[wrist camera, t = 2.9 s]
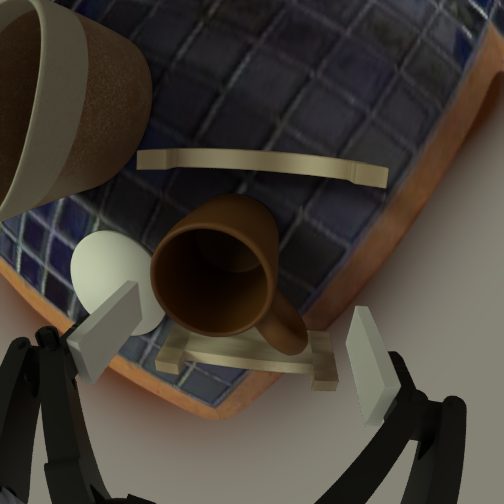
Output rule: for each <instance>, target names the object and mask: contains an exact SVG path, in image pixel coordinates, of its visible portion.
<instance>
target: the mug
mask: <svg viewBox="0 0 504 504" xmlns="http://www.w3.org/2000/svg"><path fill="white" fill-rule="evenodd" d="M278 265H279V234H278V229H277V225H276V222H275V220H274V218H273V216H272V215H271V213H270V212H269V211H268V210H267V209H266V207H265V206H263V205H262V204H261V203H260V202H258V201H257V200H255V199H253V198H251V197H248V196H245V195H241V194H232V193H231V194H223V195H219V196H216V197H213V198H211V199H210V200H208V201H206V202H205V203H203V204H202V205H201V206H199V207H198V208H196V209H195V210H194V211H192V212H191V213H190V214H188V215H187V216H186V217H184V218H183V219H182V220H181V221H179V222H178V223H177V224H176V225H175V226H174V227H173V228H172V229H171V230H170V231H169V232H168V233H167V234H166V236H165V237H164V238H163V239H162V240H161V241H160V243H159V244H158V246H157V247H156V249H155V251H154V253H153V256H152V260H151V265H150V281H151V286H152V290H153V293H154V295H155V298H156V300H157V301H158V303H159V305H160V306H161V308H162V309H163V310H164V312H165V313H166V314H167V315H168V316H169V317H170V318H171V319H172V320H173V321H175V322H176V323H177V324H178V325H180V326H182V327H183V328H185V329H187V330H189V331H191V332H193V333H196V334H199V335H203V336H208V337H230V336H234V335H238V334H241V333H243V332H245V331H247V330H249V329H251V328H252V327H255V328H256V329H257V330H258V332H259V333H260V334H261V335H262V336H263V338H264V339H265V340H266V341H267V342H268V344H269V345H271V346H272V347H273V348H274V349H276V350H277V351H279V352H281V353H283V354H285V355H287V356H294V355H298V354H300V353H302V352H303V351H304V350H305V348H306V346H307V344H308V333H307V329H306V326H305V324H304V322H303V320H302V318H301V316H300V315H299V313H298V312H297V310H296V309H295V308H294V306H293V305H292V304H291V303H290V302H289V301H288V300H287V299H286V298H285V297H284V296H283V295H282V294H281V292H280V291H279V290H278V289H277V287H276V285H277V279H278Z"/></svg>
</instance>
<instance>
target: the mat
mask: <svg viewBox="0 0 504 504" xmlns="http://www.w3.org/2000/svg"><path fill="white" fill-rule="evenodd" d="M152 256H153V255H152V254H151V253H150V252H149V251H148V250H147V249H146V248H145V247H144V246H143V245H142V244H141V243H140V242H138V241H137V240H135V239H134V238H132V237H131V236H129V235H126V234H124V233H121V232H118V231H113V230H102V231H97V232H94V233H92V234H90V235H88V236H87V237H85V238H84V239H83V240H82V241H80V243H79V244H78V245H77V247H76V249H75V250H74V253H73V256H72V260H71V277H72V282H73V286H74V289H75V292H76V294H77V296H78V298H79V300H80V301H81V303H82V305H83V306H84V308H85V309H86V310H87V311H88V313H89V314H90V315H91V314H92V313H93V312H94V311H95V310H96V309H97V308H98V307H99V306H100V305H102V304H103V303H104V302H105V301H106V300H107V299H108V298H109V297H110V296H111V295H112V294H113V293H114V292H115V291H116V290H118V289H119V288H120V287H121V286H122V285H123V284H124V283H125V282H126V281H127V280H130V281H136V282H138V286H139V295H140V302H141V310H142V317H143V319H142V321H141V322H140V323H139V325H138V326H137V327H136V328H135V330H134V331H133V332H132V334H131V335H134V336H135V335H142V334H146V333H148V332H150V331H152V330H153V329H155V328H156V327H157V326H158V325H159V323H160V322H161V320H162V319H163V317H164V315H165V312H164V310H163V309H162V308H161V306H160V305H159V303H158V301H157V300H156V298H155V295H154V293H153V290H152V286H151V281H150V265H151V260H152Z"/></svg>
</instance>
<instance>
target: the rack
mask: <svg viewBox="0 0 504 504" xmlns="http://www.w3.org/2000/svg"><path fill="white" fill-rule="evenodd" d="M174 167H205V168H229V169H246V170H261V171H273V172H285V173H295V174H305V175H314V176H323V177H331V178H339V179H347V180H349V181H351V182H352V183H354V184H361V185H368V186H374V187H380V188H386V185H387V177H388V168H385V167H381V166H377V165H372V164H368V163H364V162H359V161H353V160H346V159H339V158H332V157H324V156H316V155H307V154H297V153H287V152H275V151H262V150H246V149H224V148H164V149H150V150H138V151H137V170H145V169H163V170H166V169H170V168H174ZM307 333H308V344H307V346H306V348H305V350H304V351H303V352H302V353H300V354H298V355H294V356H287V355H285V354H283V353H281V352H279V351H277V350H276V349H274V348H273V347H272V346H271V345H269V344H268V342H267V341H266V340H265V339H264V338H263V336H262V335H261V334H260V333H259V332H258V330H257V329H256V328H255V327H252V328H251V329H249V330H247V331H245V332H243V333H241V334H238V335H234V336H230V337H208V336H203V335H199V334H196V333H193V332H191V331H189V330H187V329H185V328H183V327H182V326H180V325H178V324H177V323H175V325H174V326H173V328H172V330H171V332H170V334H169V335H168V337H167V339H166V341H165V342H164V344H163V346H162V348H161V350H160V351H159V353H158V355H157V357H156V359H155V365H156V370H158V371H162V372H167V373H172V374H177V375H179V373H180V370H181V368H182V366H183V364H184V361H185V360H189V361H195V362H201V363H207V364H214V365H221V366H228V367H236V368H244V369H253V370H263V371H273V372H286V373H301V374H310V375H311V388H312V390H314V391H315V390H316V391H335V390H336V387H337V385H338V382H339V381H338V374H337V369H336V364H335V359H334V353H333V348H332V343H331V338H330V333H329V331H313V330H307Z"/></svg>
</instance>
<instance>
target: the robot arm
mask: <svg viewBox="0 0 504 504" xmlns="http://www.w3.org/2000/svg"><path fill="white" fill-rule="evenodd" d="M142 319H143V317H142V310H141V302H140V295H139V286H138V282H136V281H130V280H127V281H126V282H125V283H124V284H123V285H122V286H121V287H120V288H119V289H118V290H116V291H115V292H114V293H113V294H112V295H111V296H110V297H109V298H108V299H107V300H106V301H105V302H104V303H103V304H102V305H100V306H99V307H98V308H97V309H96V310H95V311H94V312H93V313H92V314H91V315H90V314H87V315H85V316H83V317H81V318H80V319H79V320H78V321H77V322H76V323H75V324H74V325H73V326H72V327H71V328H69V329H68V330H67V331H66V332H65V333H64V334H63V335H62V336H61V337H59V334H58V331H57V328H55V327H53V326H45V327H42V328H40V329H39V330H38V331H37V332H36V333H35V337H36V340H37V343H38V345H39V346H32V345H31V343H30V341H29V339H28V338H26V337H19V338H16V339H15V340H13V341H12V343H11V344H10V346H9V348H8V350H7V353H6V355H5V357H4V360H3V362H2V364H1V366H0V504H27V503H28V498H29V490H30V474H31V463H32V452H33V445H34V438H35V431H36V424H37V419H38V414H39V408H40V403H41V411H42V421H43V430H44V437H45V445H46V451H47V456H48V463H45V464H44V471H45V476H46V481H47V485H48V489H49V493H50V498H51V501H52V504H156V503H154V502H151V501H148V500H145V499H142V498H139V497H136V496H134V495H131V494H128V496H127V498H111V496H110V495H109V493H108V491H107V490H106V488H105V485H104V483H103V481H102V478H101V475H100V472H99V469H98V466H97V463H96V460H95V457H94V454H93V450H92V447H91V444H90V440H89V437H88V433H87V429H86V425H85V421H84V417H83V412H82V408H81V403H80V398H79V393H78V388H77V382H76V380H75V376H76V375H77V374H79V376H80V378H81V381H83V382H85V383H88V384H91V385H94V383H95V382H96V380H97V379H98V378H99V376H100V375H101V374H102V372H103V371H104V370H105V368H106V367H107V366H108V364H109V363H110V361H111V360H112V359H113V357H114V356H115V355H116V353H117V352H118V351H119V349H120V348H121V347H122V345H123V344H124V343H125V341H126V340H127V339H128V338H129V336H130V335H131V334H132V332H133V331H134V330H135V328H136V327H137V326H138V325H139V323H140V322H141V321H142ZM345 344H346V347H347V352H348V356H349V360H350V364H351V368H352V372H353V376H354V381H355V385H356V389H357V394H358V399H359V404H360V408H361V413H362V418H363V423H364V426H366V427H367V426H379V425H380V423H381V422H382V420H383V418H384V421H385V422H384V423H383V425H382V426H381V428H380V429H379V430H378V432H377V433H376V434H375V436H374V437H373V438H372V440H371V441H370V442H369V444H368V445H367V446H366V447H365V449H364V450H363V451H362V452H361V454H360V455H359V456H358V457H357V458H356V460H355V461H354V462H353V463H352V464H351V465H350V467H349V468H348V469H347V470H346V471H345V472H344V473H343V474H342V476H341V477H340V478H339V479H338V480H337V481H336V482H335V483H334V484H333V485H332V486H331V488H329V490H327V492H325V494H324V495H322V496H321V498H319V499H318V500H317V501H316V502H315V503H314V504H365V503H366V502H367V501H368V499H369V498H370V497H371V496H372V494H373V493H374V491H375V490H376V489H377V488H378V486H379V485H380V484H381V482H382V481H383V479H384V478H385V477H386V475H387V474H388V472H389V471H390V469H391V468H392V466H393V465H394V463H395V462H396V460H397V459H398V457H399V456H400V454H401V453H402V451H403V449H404V448H405V446H406V444H407V443H408V441H409V440H416V441H418V445H417V449H416V453H415V457H414V461H413V465H412V468H411V472H410V476H409V479H408V482H407V485H406V489H405V492H404V495H403V498H402V501H401V503H400V504H457V500H458V495H459V489H460V484H461V477H462V470H463V461H464V451H465V437H466V413H467V411H466V409H467V408H466V404H465V402H464V401H463V400H462V399H461V398H459V397H457V396H448V397H446V398H445V399H444V401H443V402H436V401H430V400H428V397H427V396H426V395H425V393H423V392H422V391H420V390H417V389H416V387H415V385H414V383H413V380H412V378H411V376H410V373H409V371H408V369H407V367H406V366H405V362H404V360H403V358H402V357H401V356H400V355H399V354H398V353H397V352H396V351H390V352H389V351H387V349H386V347H385V345H384V342H383V340H382V337H381V335H380V333H379V331H378V328H377V326H376V324H375V321H374V319H373V317H372V315H371V313H370V311H369V308H368V307H367V306H355V310H354V314H353V318H352V322H351V326H350V329H349V332H348V336H347V340H346V343H345Z"/></svg>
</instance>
